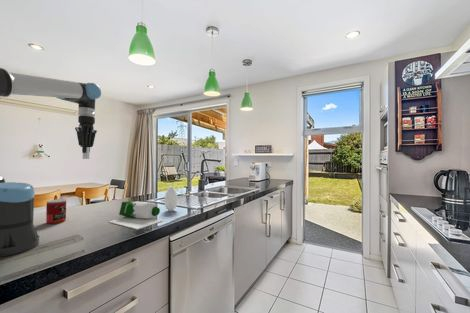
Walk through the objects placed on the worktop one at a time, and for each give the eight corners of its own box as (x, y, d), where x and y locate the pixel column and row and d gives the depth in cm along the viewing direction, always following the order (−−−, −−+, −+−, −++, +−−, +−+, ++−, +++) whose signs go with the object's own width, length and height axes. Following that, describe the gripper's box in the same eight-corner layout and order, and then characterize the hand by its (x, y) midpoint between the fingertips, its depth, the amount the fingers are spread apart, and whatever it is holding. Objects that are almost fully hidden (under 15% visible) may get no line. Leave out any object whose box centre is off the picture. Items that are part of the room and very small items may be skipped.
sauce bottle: (173, 212, 128) (174, 183, 128) (162, 212, 129) (162, 182, 130) (179, 209, 136) (179, 181, 136) (168, 209, 137) (168, 181, 137)
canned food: (54, 224, 103) (55, 202, 103) (41, 223, 104) (42, 201, 105) (69, 220, 110) (70, 199, 110) (57, 219, 112) (58, 198, 112)
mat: (162, 221, 110) (162, 220, 110) (137, 229, 97) (137, 228, 97) (135, 215, 120) (135, 214, 120) (109, 222, 107) (109, 221, 107)
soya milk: (129, 217, 121) (158, 220, 115) (116, 216, 113) (147, 219, 107) (132, 201, 124) (161, 203, 118) (121, 199, 116) (151, 201, 110)
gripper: (83, 113, 110) (82, 158, 109) (101, 118, 123) (100, 159, 122) (70, 113, 110) (69, 158, 110) (89, 118, 123) (88, 158, 123)
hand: (85, 158), depth 116 cm, fingers closed
